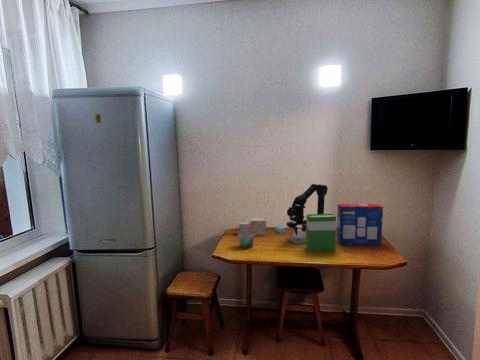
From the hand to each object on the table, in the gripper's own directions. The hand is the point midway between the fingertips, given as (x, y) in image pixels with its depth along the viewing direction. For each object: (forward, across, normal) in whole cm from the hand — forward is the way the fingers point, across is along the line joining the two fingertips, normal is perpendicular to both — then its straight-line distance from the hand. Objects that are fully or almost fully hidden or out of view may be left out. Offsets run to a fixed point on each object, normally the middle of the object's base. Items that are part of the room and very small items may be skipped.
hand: (299, 234), depth 201 cm
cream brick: (+1, 0, 0) cm, 1 cm away
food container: (+5, +42, -3) cm, 43 cm away
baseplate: (+5, 0, 0) cm, 5 cm away
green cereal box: (+5, -5, +19) cm, 21 cm away
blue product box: (+5, -37, +19) cm, 42 cm away
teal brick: (+5, +4, -24) cm, 25 cm away
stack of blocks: (+5, +27, -28) cm, 39 cm away
